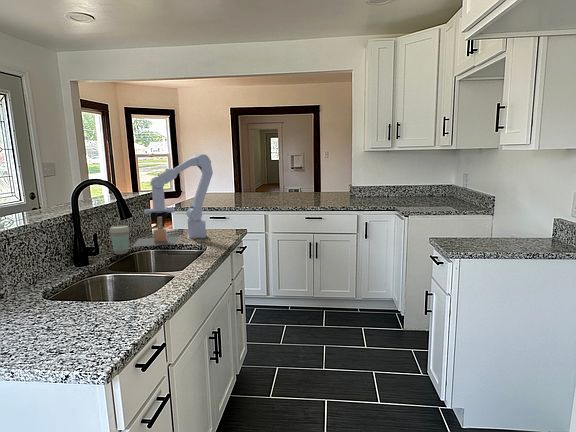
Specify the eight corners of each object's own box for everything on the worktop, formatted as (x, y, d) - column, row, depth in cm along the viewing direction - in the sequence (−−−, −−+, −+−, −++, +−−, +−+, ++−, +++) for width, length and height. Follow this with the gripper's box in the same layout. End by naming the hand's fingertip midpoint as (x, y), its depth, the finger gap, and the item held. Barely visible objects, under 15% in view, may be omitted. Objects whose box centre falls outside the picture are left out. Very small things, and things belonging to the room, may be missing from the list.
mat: (178, 237, 205) (178, 236, 205) (175, 245, 188) (175, 244, 188) (138, 239, 201) (138, 238, 201) (132, 247, 184) (132, 246, 184)
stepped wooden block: (165, 231, 200) (164, 216, 198) (164, 233, 196) (163, 217, 194) (157, 231, 199) (156, 216, 198) (156, 233, 195) (155, 217, 194)
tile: (166, 240, 196) (166, 228, 195) (166, 241, 194) (165, 229, 194) (154, 241, 195) (153, 229, 194) (154, 241, 193) (153, 230, 192)
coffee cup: (135, 250, 177) (133, 225, 176) (123, 255, 169) (121, 229, 167) (119, 250, 180) (117, 224, 178) (106, 254, 171) (104, 228, 169)
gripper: (142, 202, 190) (144, 229, 192) (172, 200, 192) (174, 227, 195) (144, 200, 196) (146, 226, 199) (174, 199, 199) (175, 225, 201)
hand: (160, 226), depth 197 cm, fingers closed on stepped wooden block, 2 cm apart
